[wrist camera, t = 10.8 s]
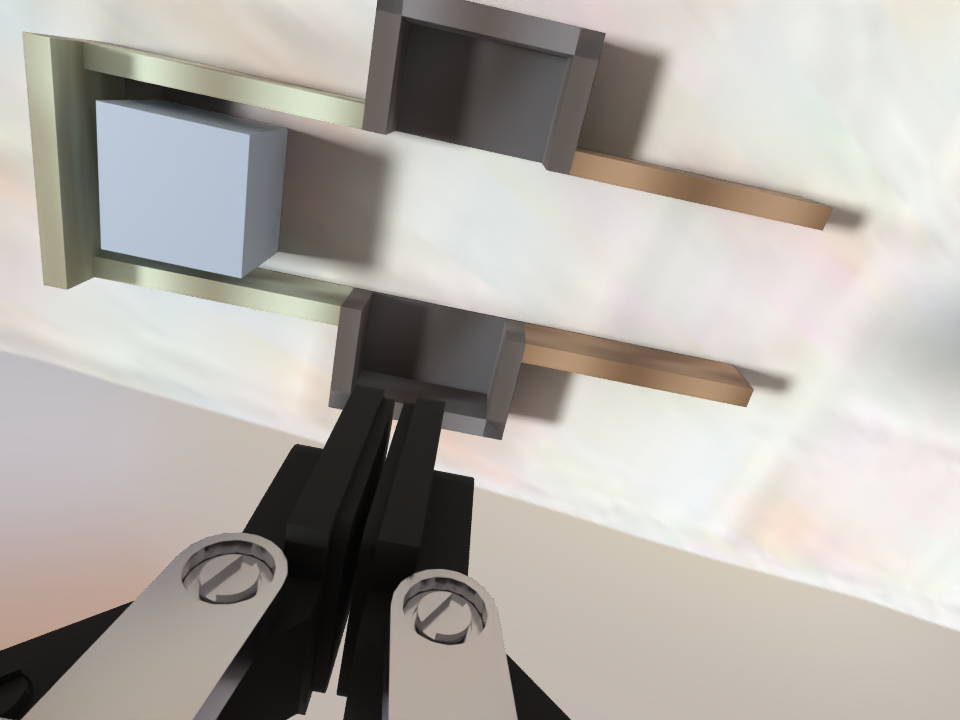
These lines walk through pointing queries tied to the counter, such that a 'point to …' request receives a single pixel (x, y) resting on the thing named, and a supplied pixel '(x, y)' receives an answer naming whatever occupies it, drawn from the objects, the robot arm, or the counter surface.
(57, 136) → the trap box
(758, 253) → the counter surface
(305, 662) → the robot arm
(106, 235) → the block
